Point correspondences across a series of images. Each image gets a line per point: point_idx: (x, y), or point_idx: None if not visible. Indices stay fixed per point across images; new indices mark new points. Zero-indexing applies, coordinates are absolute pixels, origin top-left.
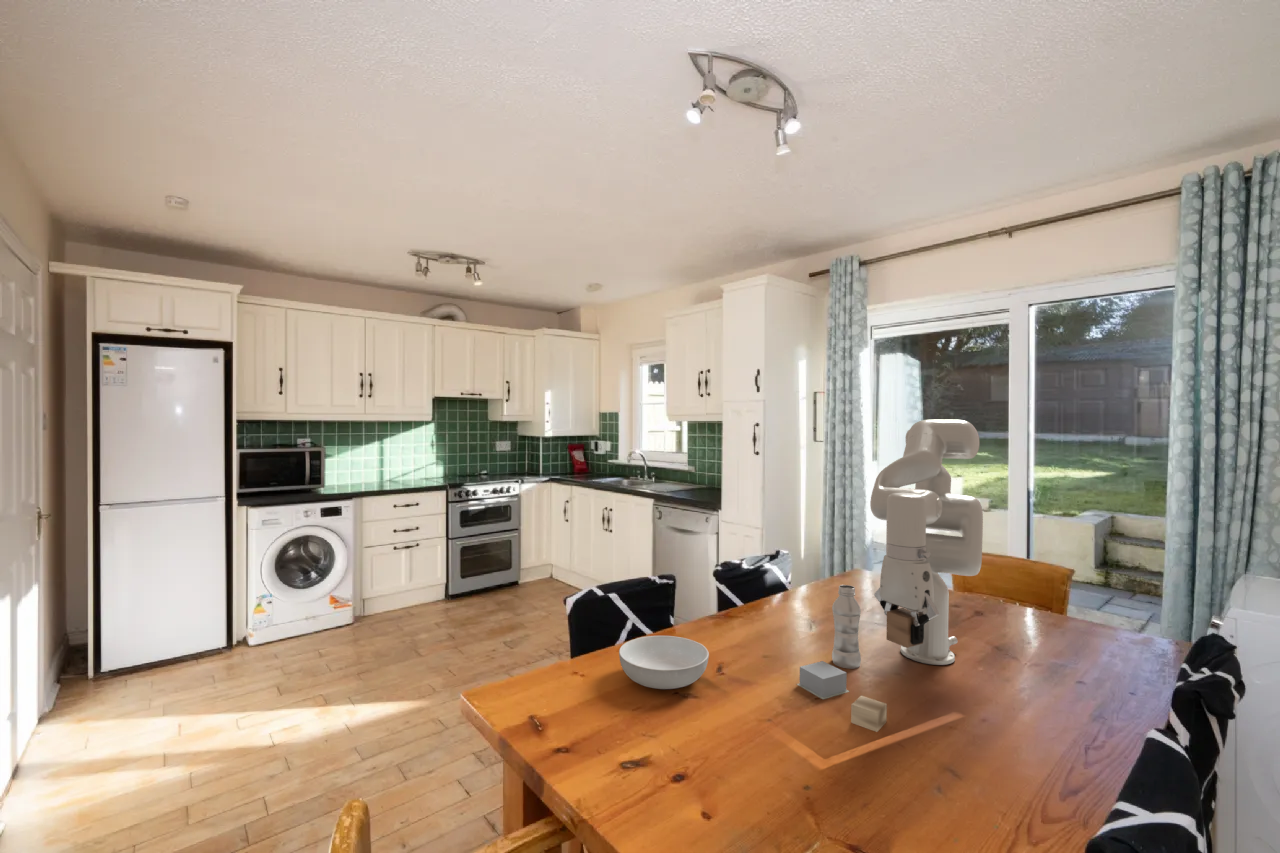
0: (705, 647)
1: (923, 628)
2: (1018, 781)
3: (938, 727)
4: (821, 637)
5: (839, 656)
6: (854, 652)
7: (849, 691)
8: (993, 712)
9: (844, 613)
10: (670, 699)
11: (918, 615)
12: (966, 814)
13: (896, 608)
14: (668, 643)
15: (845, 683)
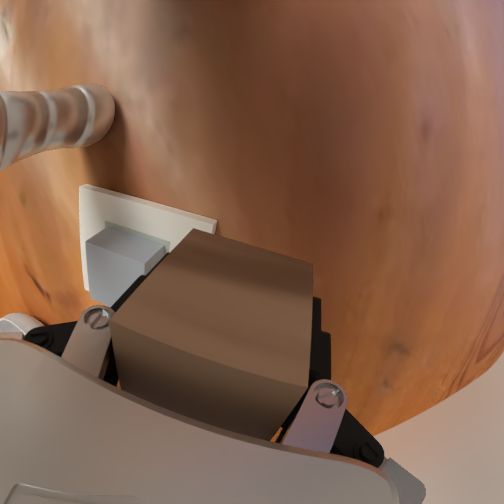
0: (25, 333)
1: (329, 376)
2: (472, 311)
3: (361, 234)
4: (24, 43)
5: (76, 147)
6: (85, 122)
7: (169, 242)
8: (429, 76)
9: None
10: None
11: (282, 413)
12: (411, 397)
13: (108, 358)
14: (6, 321)
15: (156, 254)
